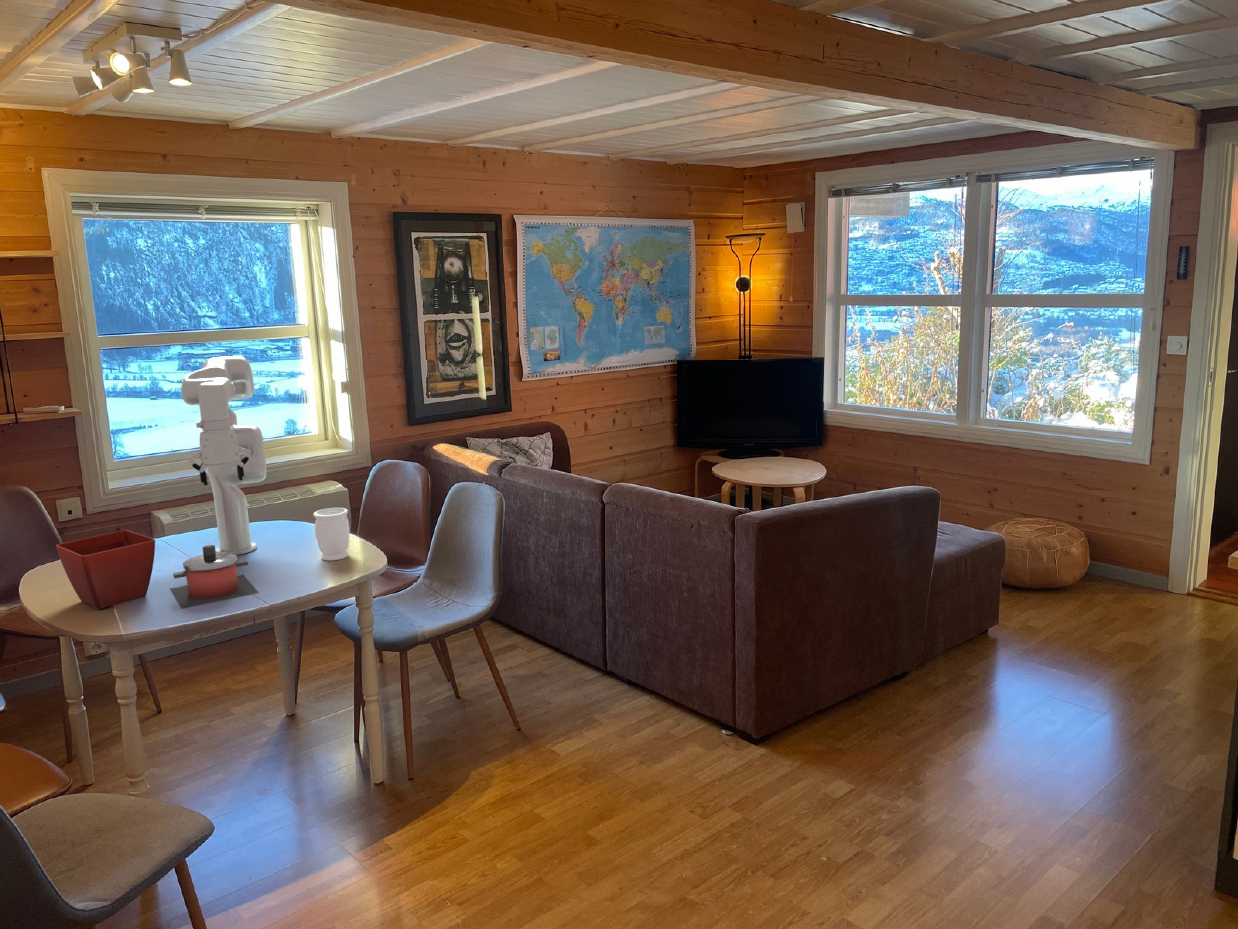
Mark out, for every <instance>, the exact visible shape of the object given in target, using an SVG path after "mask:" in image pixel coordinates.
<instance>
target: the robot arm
mask: <svg viewBox="0 0 1238 929" xmlns="http://www.w3.org/2000/svg"><path fill="white" fill-rule="evenodd" d="M252 371H253V370H252V367H251V364H250V362H249V360H248V359H247V358H246V357H244V356H239V355H235V356H234V355H233V356H216V357H210V358H208V359H206V360H205V361H204V362H203V364H202V365H201V369H198V370H195V371H193V372H190V373H188V374H186V375H185V376H184V377H183V379H182V382H181V389H180V390H181V397H182V400H183V401H184V403H185V404H187V405H189V406H199V412H200V422H196V424H195V425H196V428H197V429H198V428H200V429H201V430H200V432H199V450H198V451H196V452H194V454H191V455H190V456H188V457H187V461H188V463H189V464H190V465H191V466H192V468H194V469H195V470H197V471H198V472H199V478H200V483H202V484H203V485H204V486H205V487H206V486H208V478H209V482H210V485H211V489H212V496H213V501H214V510H215V517H216V519H215V520H216V525H217V533H218V541H219V542H218V543H219V545H218V546H217V547H215V551H216V553H231V554H235V555H236V556H238V555H242V554H247V553H250V552H253V551H255V550H257V543H255V542H254V541H253V542H252V538H251V530H250V522H249V521H250V520H249V513H248V502H247V498H246V497H247V496H246V495H245V493H244V492H243V491H242V489H240V488H239V487H238V485H243V484H253V483H260V482H262V481H264V480H265V479H266V477H267V459H266V454H265V453H266V452H265V443H264V442H265V441H264V438H263V433H262V430H261V429H260V428H259V426H257V425H254V424H245V425H238V418H237V414H236V413H235V411H234V410H233V409H231V408H230V407H229V404H228V403H230V402H231V401H232V400H233V401H234V400H235V401H237V400H245V399H250V398H251V397H253V395H254V393H255V383H254V377H253V372H252ZM199 458H200V461H201V463H200V464H198V463H196V462H195V460H197V459H199ZM206 469H207V472H206ZM207 474H208V478H207Z"/></svg>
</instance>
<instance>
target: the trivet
mask: <svg viewBox="0 0 1238 929" xmlns="http://www.w3.org/2000/svg"><path fill="white" fill-rule="evenodd" d="M237 578H238V587H239V588H238V589H237V590H236V591H235V592H233V593H231V594H228V595H225V596H221V597H216V598H208V599H197V598H192V597H190V596H189V593H188V585H182V586H176V587H171V588H169V590H170V592H171V593H172V595H173V597H174V599H175V600H176V603H177V604H178V606H179V607H180V609H182V610H183V609H187V608H192V607H197V606H202V605H207V604H211V603H216V602H222V601H226V600H231V599H235V598H240V597H241V598H242V597H246V596H251V595H255V594H259V591H258V589H257V588H256V587H254V585H253V584H252V582H250V581H249V580H248V578H247V577H246V575H244V574H239V575H238V574H237Z"/></svg>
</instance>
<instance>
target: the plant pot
mask: <svg viewBox="0 0 1238 929" xmlns="http://www.w3.org/2000/svg"><path fill="white" fill-rule="evenodd" d="M55 547H56V550H57V554H58V556H59V560H60V562H61V564H62V567H63V569H64V571H65V574H66V576H67V578H68V580H69V582H70V584H71V586H72V588H73V590H74V592H75V593H76V595H77V597H78V598H79V600H80V601H81V602H82V601H83V602H82V603H84V602H85V604H86V603H87V605H88V604H89V605H88V606H90V605H91V607H92V606H93V607H92V608H94V607H95V608H94V609H96V608H97V609H96V610H101V609H100V608H104V609H106V608H105V607H108V606H111V607H115V605H119V604H122V603H126V602H131V601H133V600H136V599H140V598H144V597H146V596H147V593H148V590H149V585H150V583H151V577H152V574H153V567H154V560H155V551H156V539H155V538H153V537H149V536H146V535H143V534H140V533H138V532H135V531H132V530H129V529H124V530H119V531H115V532H108V533H104V534H100V535H94V536H90V537H85V538H82V539H76V540H75V539H74V540H71V541H70V540H69V541H66V542H63V543H62V542H61V543H58V544H56V545H55ZM108 608H109V607H108Z"/></svg>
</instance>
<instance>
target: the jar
mask: <svg viewBox="0 0 1238 929" xmlns="http://www.w3.org/2000/svg"><path fill="white" fill-rule="evenodd" d="M347 515H348V509H347V508H345V507H327V508H323V509H319V510H316V511H314V512H313V517H314V518H315V522H314V531H315V532H314V534H315V537H316V540H317V545H318V548H319V551H320V552H321V556H320V557H321V560H324V561H339V560H343V559H346V558H347V557H348V556H349V552H348V551H347V550H348V548H349V546H350V545H349V544H350V532H351V530H350V522H349V519H348V516H347Z"/></svg>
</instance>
